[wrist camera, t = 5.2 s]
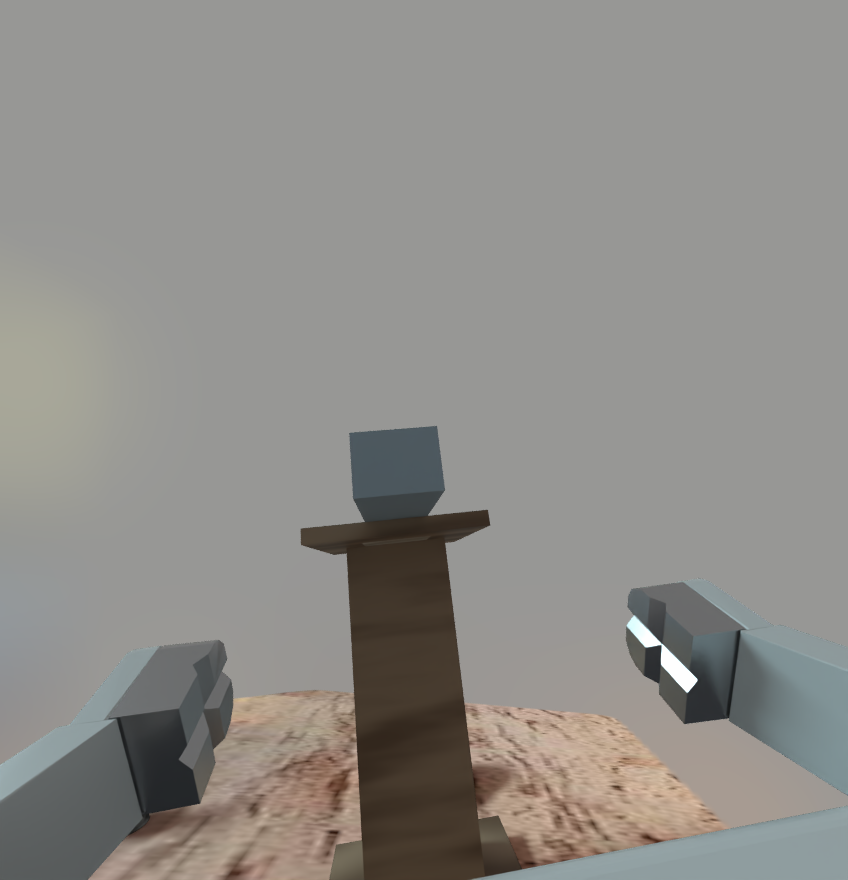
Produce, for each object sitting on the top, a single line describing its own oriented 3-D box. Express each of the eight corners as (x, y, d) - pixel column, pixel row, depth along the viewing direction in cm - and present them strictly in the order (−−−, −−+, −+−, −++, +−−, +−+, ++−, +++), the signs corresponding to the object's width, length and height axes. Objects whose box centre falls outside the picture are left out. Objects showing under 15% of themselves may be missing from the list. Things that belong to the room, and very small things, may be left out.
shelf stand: (591, 1051, 20) (502, 508, 27) (290, 1126, 18) (284, 530, 26) (501, 836, 36) (460, 531, 44) (337, 867, 35) (324, 545, 42)
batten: (444, 490, 18) (436, 426, 19) (353, 498, 18) (349, 432, 19) (414, 535, 41) (411, 504, 42) (373, 539, 41) (371, 508, 42)
